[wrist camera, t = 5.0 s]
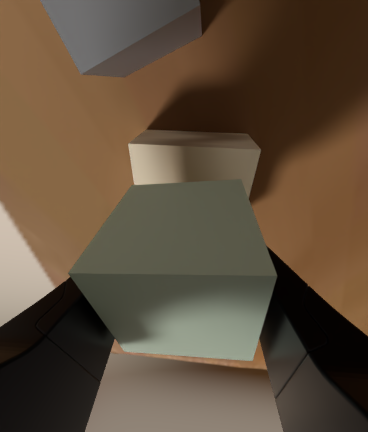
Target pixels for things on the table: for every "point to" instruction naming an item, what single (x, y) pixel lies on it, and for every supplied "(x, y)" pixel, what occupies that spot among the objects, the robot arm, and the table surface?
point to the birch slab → (193, 157)
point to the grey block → (123, 31)
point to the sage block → (180, 271)
